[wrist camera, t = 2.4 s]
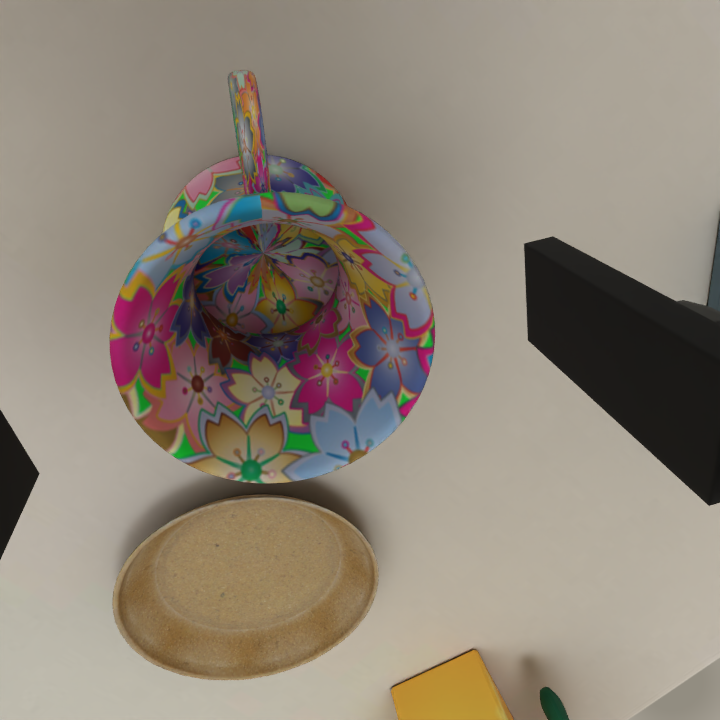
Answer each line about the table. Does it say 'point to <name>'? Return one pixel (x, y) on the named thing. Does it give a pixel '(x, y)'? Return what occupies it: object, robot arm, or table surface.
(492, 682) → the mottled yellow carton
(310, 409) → the mug
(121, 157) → the table surface
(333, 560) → the plant saucer
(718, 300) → the tub
